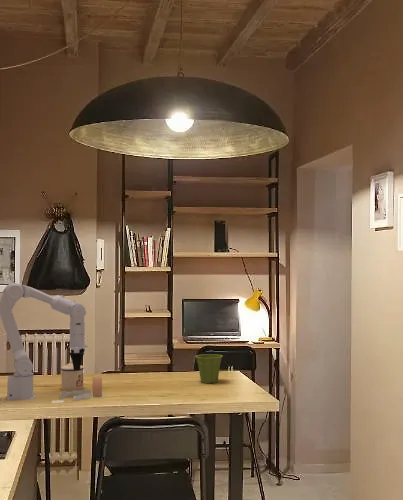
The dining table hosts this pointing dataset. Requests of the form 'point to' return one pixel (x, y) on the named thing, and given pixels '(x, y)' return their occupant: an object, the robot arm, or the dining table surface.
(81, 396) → the rails
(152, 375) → the dining table surface
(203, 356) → the plant pot
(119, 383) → the dining table surface
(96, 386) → the peg
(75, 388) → the teacup with lid
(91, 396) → the board
